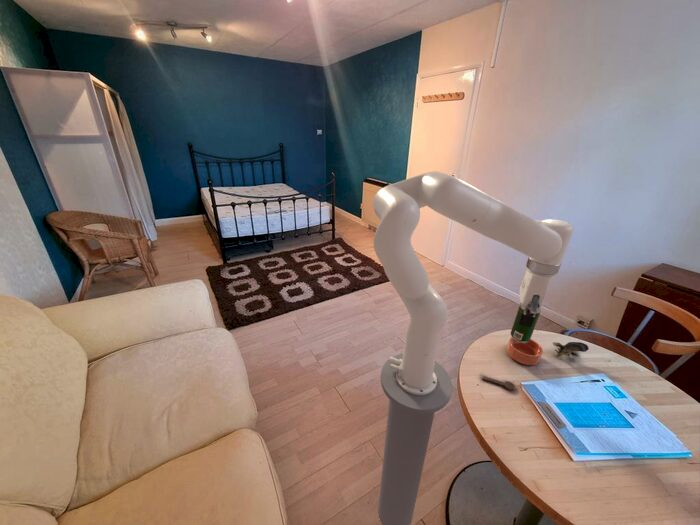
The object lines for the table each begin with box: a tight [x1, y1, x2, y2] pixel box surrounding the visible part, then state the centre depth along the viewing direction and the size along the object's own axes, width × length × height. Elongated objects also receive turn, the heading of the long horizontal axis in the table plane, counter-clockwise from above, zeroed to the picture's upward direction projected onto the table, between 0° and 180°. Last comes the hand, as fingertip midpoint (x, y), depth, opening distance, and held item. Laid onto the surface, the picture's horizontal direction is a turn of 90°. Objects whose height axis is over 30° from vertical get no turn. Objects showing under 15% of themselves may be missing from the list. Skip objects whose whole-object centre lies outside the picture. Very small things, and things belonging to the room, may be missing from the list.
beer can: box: [510, 303, 542, 343], centre depth 84 cm, size 5×5×12 cm
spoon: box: [482, 375, 516, 392], centre depth 87 cm, size 9×3×1 cm, turn 64°
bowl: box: [506, 336, 544, 366], centre depth 97 cm, size 10×10×4 cm
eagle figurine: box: [552, 341, 590, 361], centre depth 97 cm, size 8×7×9 cm
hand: (524, 319), depth 84 cm, fingers closed on beer can, 5 cm apart
